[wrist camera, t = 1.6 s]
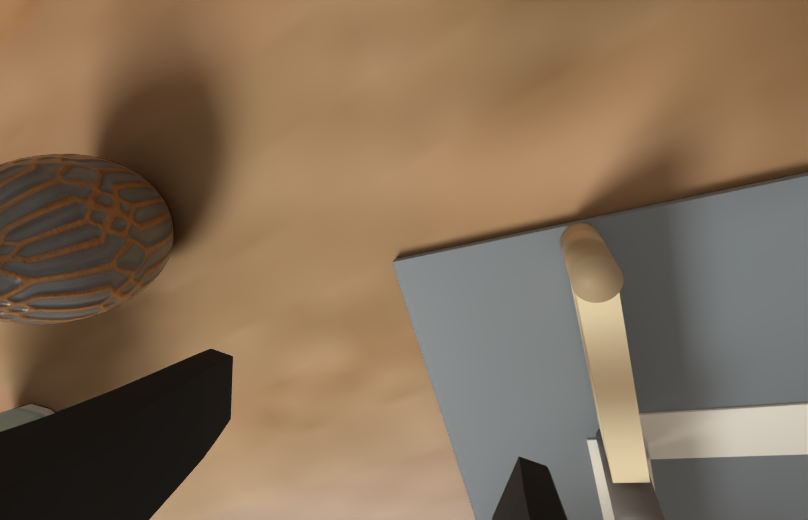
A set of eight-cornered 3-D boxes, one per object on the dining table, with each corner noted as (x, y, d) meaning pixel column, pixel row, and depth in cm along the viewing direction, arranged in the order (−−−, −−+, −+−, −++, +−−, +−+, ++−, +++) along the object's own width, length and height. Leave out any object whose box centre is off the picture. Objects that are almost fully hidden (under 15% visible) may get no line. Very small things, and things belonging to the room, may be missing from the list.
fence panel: (631, 418, 18) (657, 494, 14) (595, 421, 18) (613, 494, 15) (597, 219, 15) (619, 254, 12) (556, 227, 16) (567, 263, 12)
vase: (138, 118, 19) (-128, 133, 11) (224, 247, 21) (40, 342, 13) (58, 185, 22) (-204, 237, 14) (139, 296, 23) (-57, 400, 15)
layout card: (946, 569, 17) (958, 582, 17) (489, 552, 23) (489, 561, 23) (992, 133, 12) (1010, 134, 12) (394, 259, 18) (391, 263, 18)
